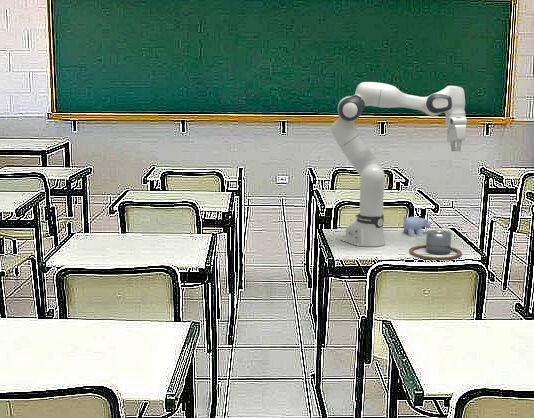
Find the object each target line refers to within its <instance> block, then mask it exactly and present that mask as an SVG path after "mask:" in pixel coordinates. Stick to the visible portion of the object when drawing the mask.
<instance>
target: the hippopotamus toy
mask: <svg viewBox="0 0 534 418" xmlns="http://www.w3.org/2000/svg"><path fill="white" fill-rule="evenodd" d="M402 218H403V223H402V226H403V230H402V233H404V234H408V236H409V237H417V236H418V237H424V236H425V235H424V234H423V231H422V229H423V228H428V229H429V228H432V227H431V225H432V222H429V220H428V219H427V218H422V217H418V216H410V217H407V218H406V217H405V216H404V215H403V217H402Z"/></svg>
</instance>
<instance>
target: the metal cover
mask: <svg viewBox="0 0 534 418" xmlns="http://www.w3.org/2000/svg"><path fill="white" fill-rule="evenodd" d="M425 240H426V241H425V245H426V248H425V252H426V253H427V254H430V255H434V256H435V255H436V256H447V255H449V254H451V251H452V250H451V247H452V246H451V245H452V232H451V231H448V230H443V229H432V230H427V231H426V239H425Z"/></svg>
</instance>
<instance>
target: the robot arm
mask: <svg viewBox="0 0 534 418" xmlns="http://www.w3.org/2000/svg"><path fill="white" fill-rule="evenodd" d="M465 94H466V93H465V90H464V88H463V87H462V86H459V85H452V84H450V85H447V86H446V87H445V88H443V89H441V90H439V91H437V92H433V93H431V94H430V95H428V96H418V95H412V94H407V93H405V92H403V91H401V90H400V89H399V88H397V86H394V85H392V84H388V83H384V82H383V83H382V82H375V81H362V82H360V83H359V84H358V85H357V86H356V88H355V93H354V94H353V95H346V96H345V97H342V98H341V99H340V100H339V103H338V104H337V113H338V118H337V119H336V120H334V122H333V123H332V124H331V126H330V131H331V134H332V136H333V137H334V138H333V139H334V140H335V141H336V143H337V145H338V147H339V148H340V149H341V152H342V153H343V154H344V156H345V157H346V159H347V160H348V162H349V163H350V164H351V165H352V166H353V168H354V169H355V170H356V172H357V174H358V175H359V176H360V187H359V189H360V191H359V213H358V214H356V215H355V218H356V221H354V222H352V224H350V225H348V227H347V228H346V230H345V234H344V236H340V239H341V240H340V241H342V240H344V241H346V242H345V243H347V242H349V243H348V244H350V243H351V244H350V245H353V244H354V245H353V246H355V245H357V246H356V247H380V246H384V245H386V239H385V232H384V222H385V215H384V197H385V196H384V195H385V176H386V175H385V171H384V168H383V166H382V164H381V163H380V161H379V160H378V158H377V157H376V156H375V154H374V153H373V152H372V150H371V149H370V148H369V146H368V145H367V143H366V142H365V140H364V139H363V137H362V135H361V134H360V133H359V131H358V129H357V128H356V126H355V120H358V118H359V117H360V116H361V115H362V113H363V111H364V109H365V108H366V107H370V106H371V107H377V108H381V109H382V108H385V109H386V108H387V109H390V108H394V109H395V108H405V109H410V110H417V111H420V112H421V113H423V114H425V115H426V116H427V117H428V116H429V117H438V116H439V115H441V114H443V113H444V114H445V126H447V128H446V129H447V130H446V141H447V142H448V143H450V144H449V145H450V150H451V152H452V153H453V152H461V151H462V143H463V141H465V139H466V137H467V124H468V119H467V117H466V111H465V107H466V97H465V96H466V95H465ZM344 241H343V242H344Z"/></svg>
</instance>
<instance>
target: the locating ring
mask: <svg viewBox="0 0 534 418" xmlns="http://www.w3.org/2000/svg"><path fill="white" fill-rule="evenodd" d="M420 249H426V244H423V245H416V246H412V247H410V249H409V251H408V252H409V254H410V255H411V256H413V257H415V258H419V259H421V260H430V261H431V260H432V261H450V260H456V259H459V258H460V257H462V256H463V254H462V253H463V252H462V251H461V250H460V249H458V248H456V247H452V246H451V251H452V250H453V251H452V252H454V251H455V252H454V253H456V252H457V253H458V254H457V253H456V254H454V255H451V256H439V257H438V256H427V255H421V254H419V253H417V252H414V251H416V250H420Z"/></svg>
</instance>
